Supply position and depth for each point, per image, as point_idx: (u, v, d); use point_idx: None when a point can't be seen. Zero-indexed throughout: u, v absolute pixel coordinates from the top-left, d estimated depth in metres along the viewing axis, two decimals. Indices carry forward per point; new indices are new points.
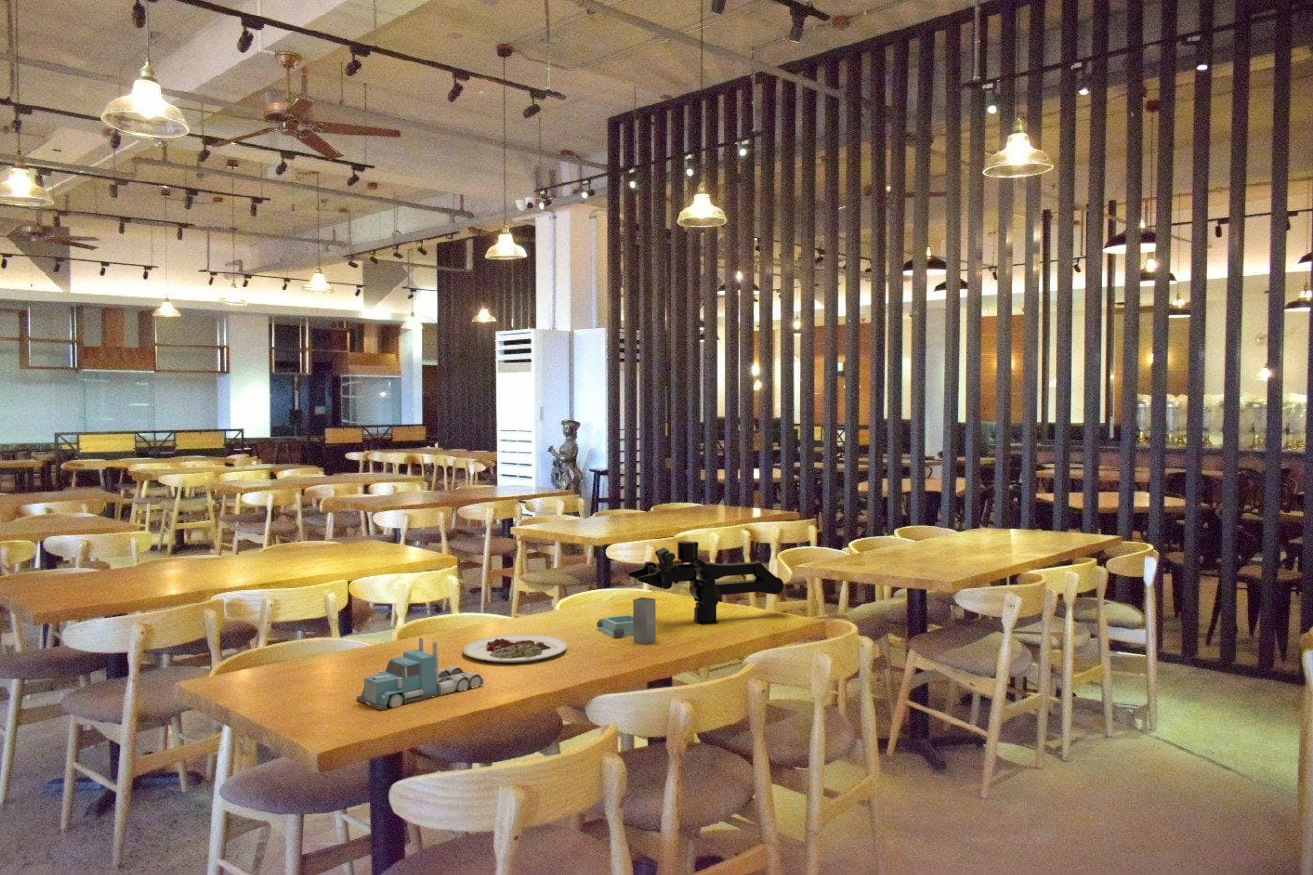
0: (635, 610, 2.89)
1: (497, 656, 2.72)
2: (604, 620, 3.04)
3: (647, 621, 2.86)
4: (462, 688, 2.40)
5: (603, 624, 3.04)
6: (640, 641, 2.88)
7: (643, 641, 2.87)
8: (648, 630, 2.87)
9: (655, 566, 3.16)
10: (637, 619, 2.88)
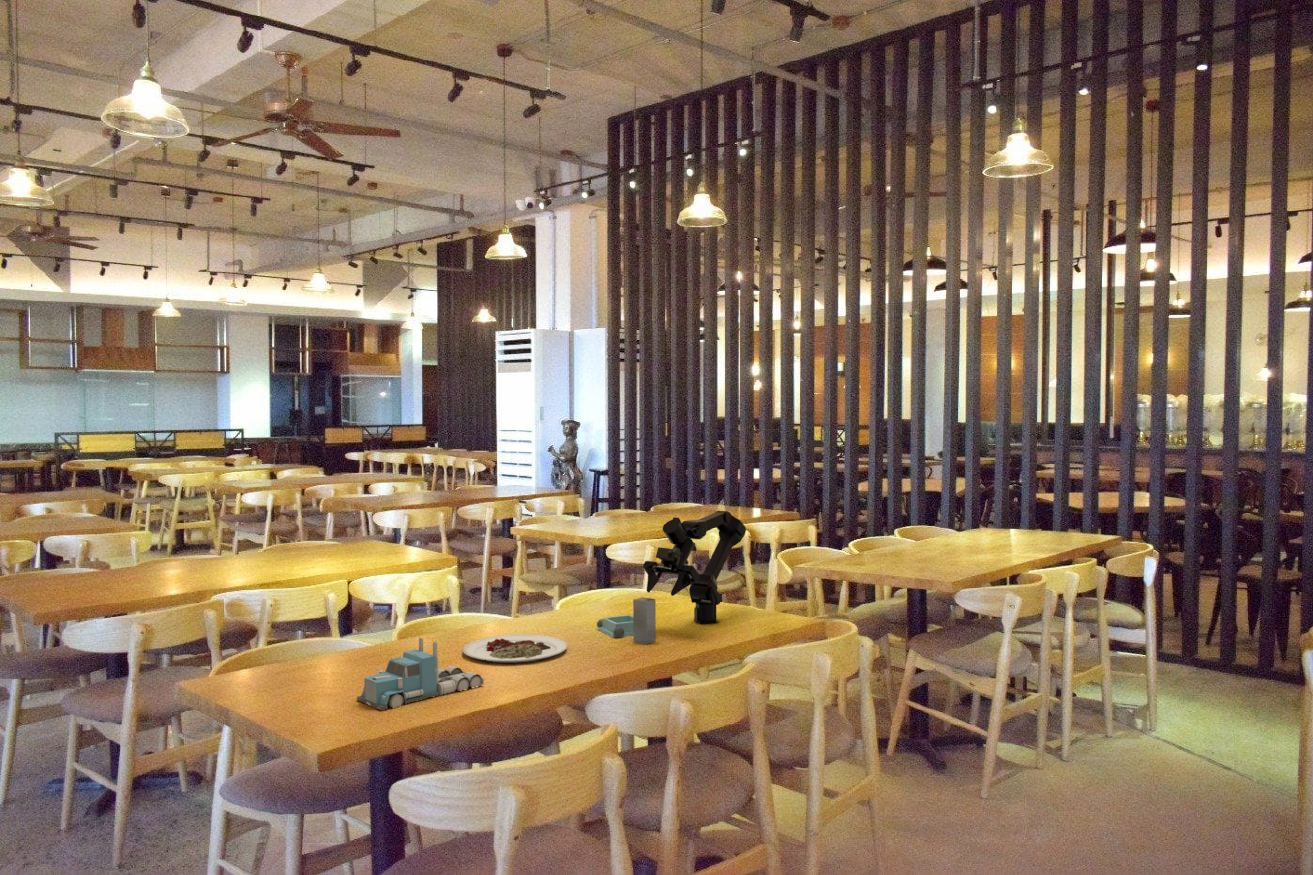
0: (635, 610, 2.89)
1: (497, 656, 2.72)
2: (604, 620, 3.04)
3: (647, 621, 2.86)
4: (462, 688, 2.40)
5: (603, 624, 3.04)
6: (640, 641, 2.88)
7: (643, 641, 2.87)
8: (648, 630, 2.87)
9: (656, 563, 3.03)
10: (637, 619, 2.88)
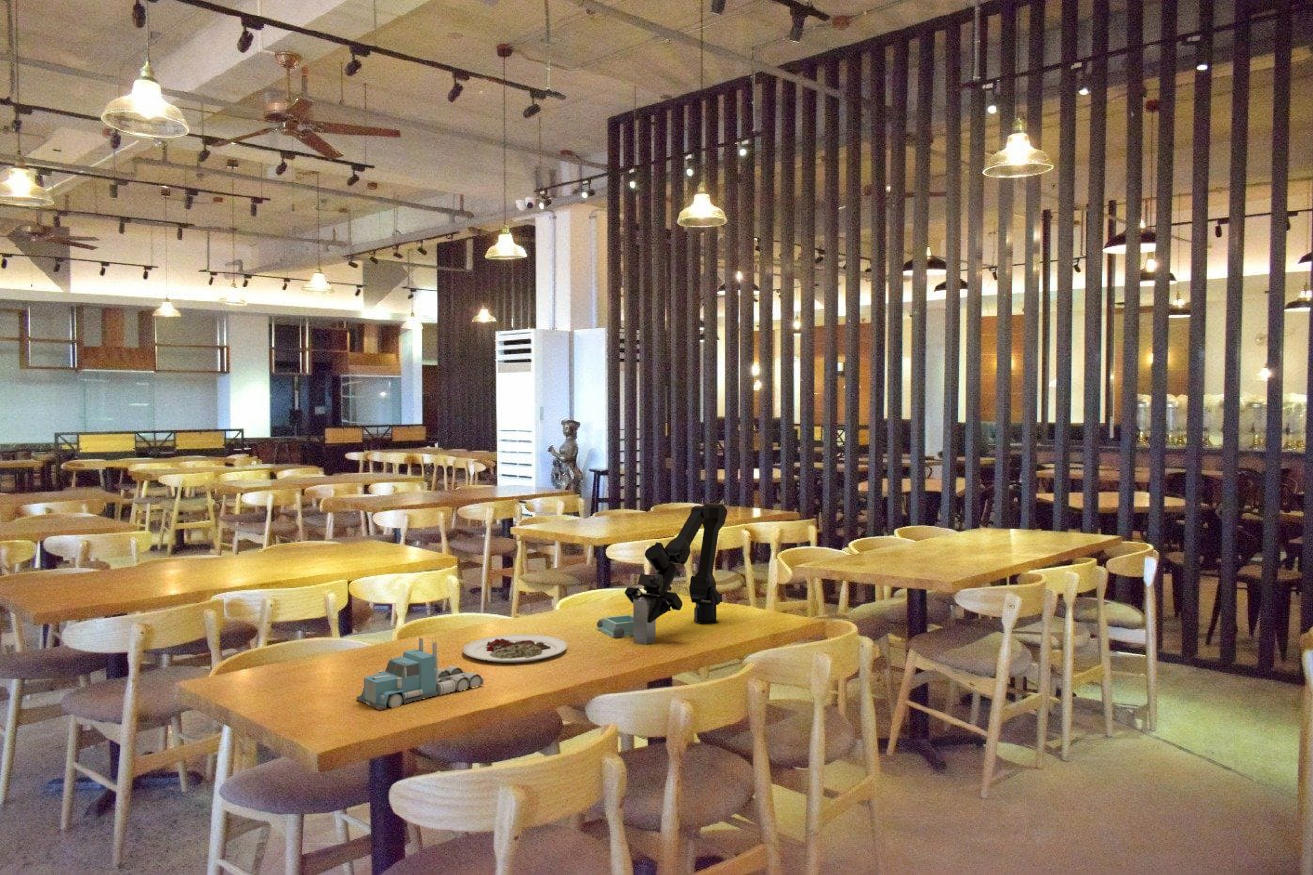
0: (635, 610, 2.89)
1: (497, 656, 2.72)
2: (604, 620, 3.04)
3: (647, 621, 2.86)
4: (462, 688, 2.40)
5: (603, 624, 3.04)
6: (640, 641, 2.88)
7: (643, 641, 2.87)
8: (648, 630, 2.87)
9: (638, 589, 2.96)
10: (637, 619, 2.88)
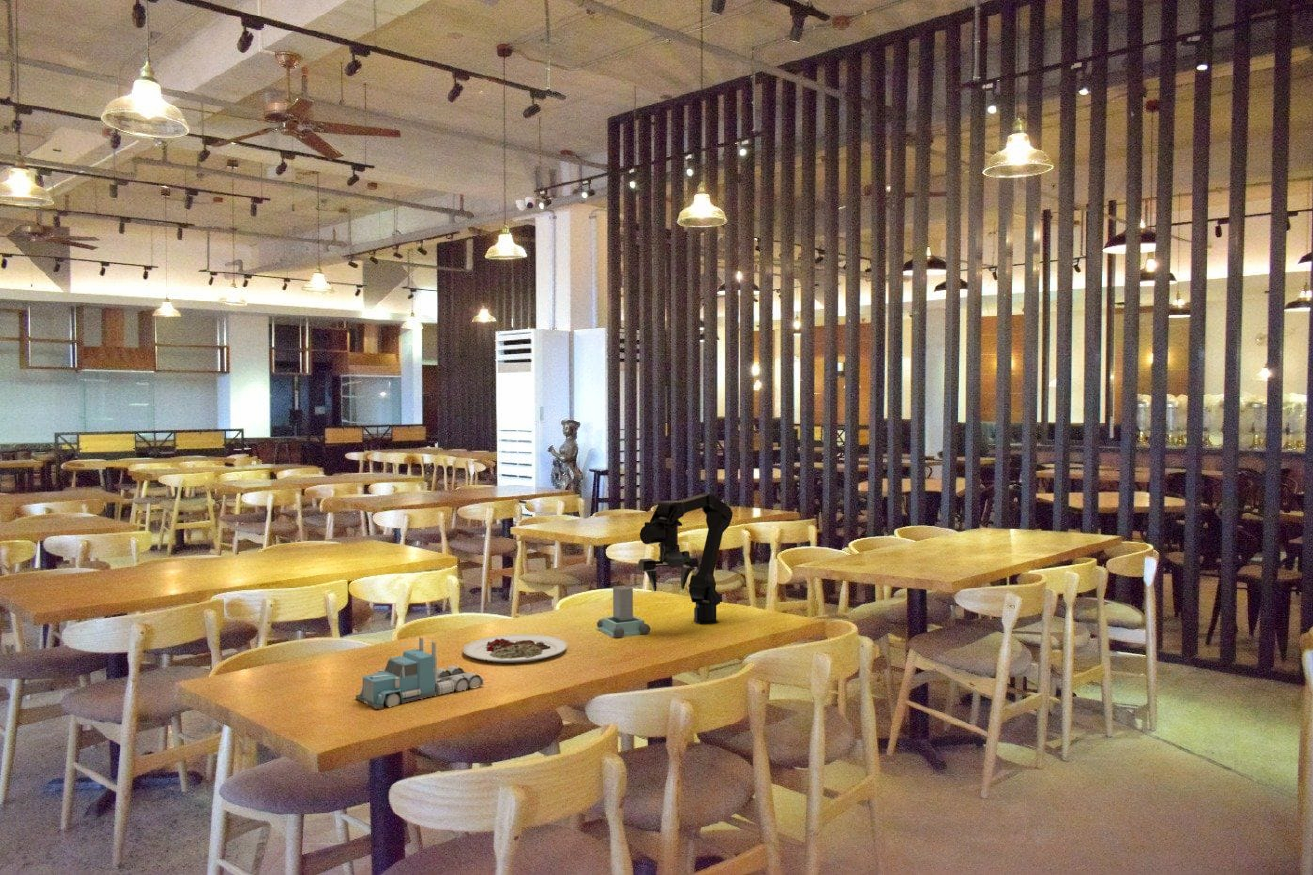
0: (614, 597, 3.03)
1: (497, 656, 2.72)
2: (604, 620, 3.04)
3: (620, 608, 3.00)
4: (461, 688, 2.40)
5: (603, 624, 3.04)
6: None
7: None
8: (623, 618, 3.00)
9: None
10: (615, 606, 3.03)
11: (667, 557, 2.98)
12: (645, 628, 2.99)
